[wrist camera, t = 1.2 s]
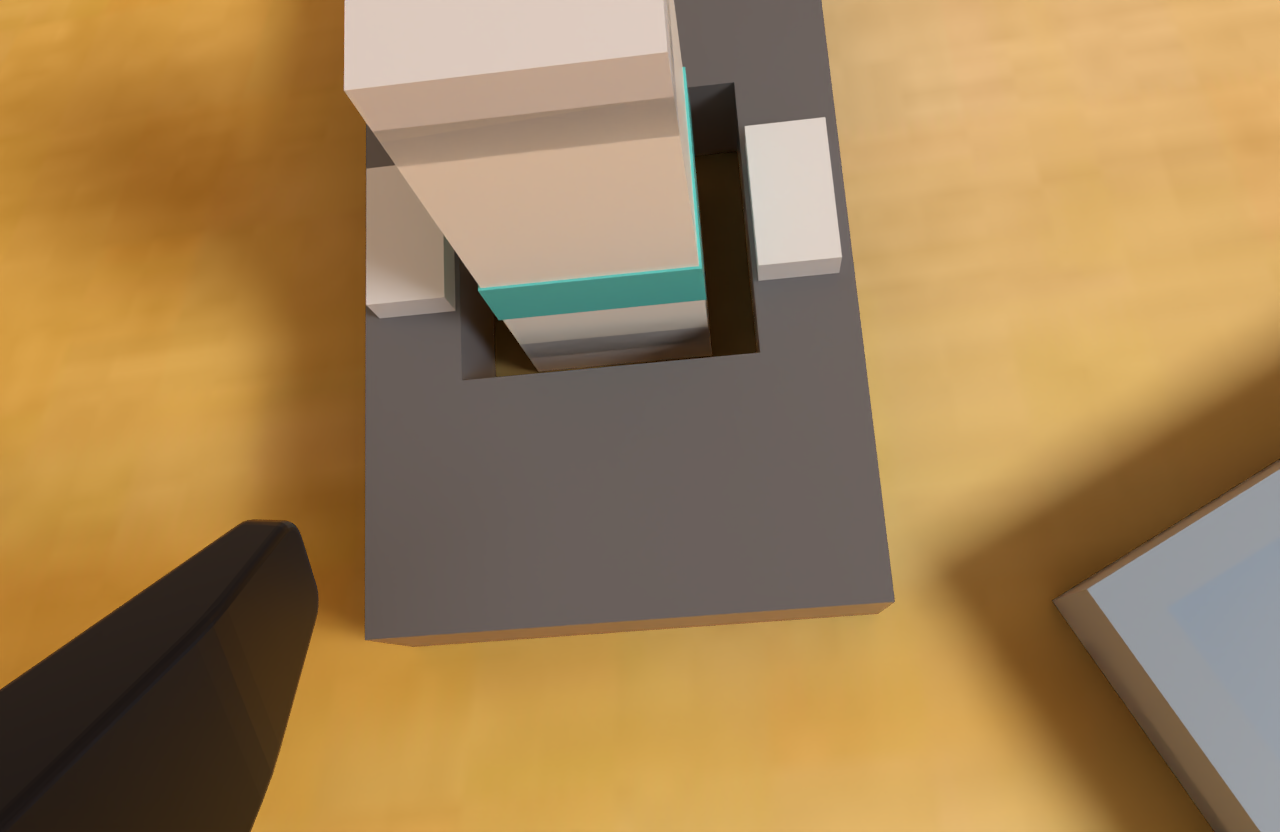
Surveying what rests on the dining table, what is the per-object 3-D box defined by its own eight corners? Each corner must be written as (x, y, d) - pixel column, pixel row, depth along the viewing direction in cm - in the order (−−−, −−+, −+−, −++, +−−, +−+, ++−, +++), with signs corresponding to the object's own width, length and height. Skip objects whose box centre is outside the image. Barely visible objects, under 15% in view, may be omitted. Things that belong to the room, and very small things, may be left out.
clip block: (877, 613, 23) (900, 598, 19) (413, 646, 24) (349, 637, 20) (800, -40, 27) (806, -157, 23) (407, 9, 28) (353, -96, 24)
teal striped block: (714, 357, 24) (671, 55, 13) (536, 373, 25) (340, 95, 13) (700, 192, 25) (649, -225, 14) (529, 210, 26) (342, -180, 14)
